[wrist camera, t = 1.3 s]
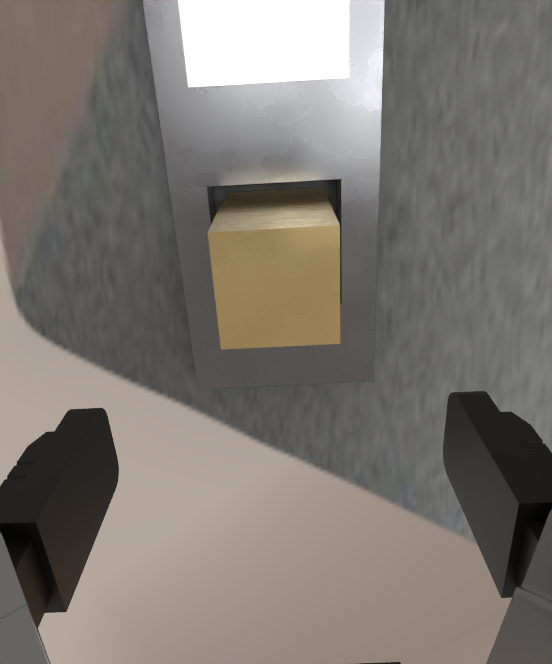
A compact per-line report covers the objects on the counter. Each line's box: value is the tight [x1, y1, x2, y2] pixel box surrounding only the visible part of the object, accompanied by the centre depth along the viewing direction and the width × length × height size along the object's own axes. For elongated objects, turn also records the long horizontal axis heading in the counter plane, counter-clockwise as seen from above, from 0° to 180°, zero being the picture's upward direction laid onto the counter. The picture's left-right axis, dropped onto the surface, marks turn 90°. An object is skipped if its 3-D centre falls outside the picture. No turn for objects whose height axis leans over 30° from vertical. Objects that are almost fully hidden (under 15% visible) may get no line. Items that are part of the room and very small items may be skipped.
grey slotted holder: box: [143, 0, 385, 389], centre depth 25 cm, size 24×10×2 cm, turn 3°
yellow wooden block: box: [208, 187, 340, 350], centre depth 24 cm, size 5×5×8 cm
